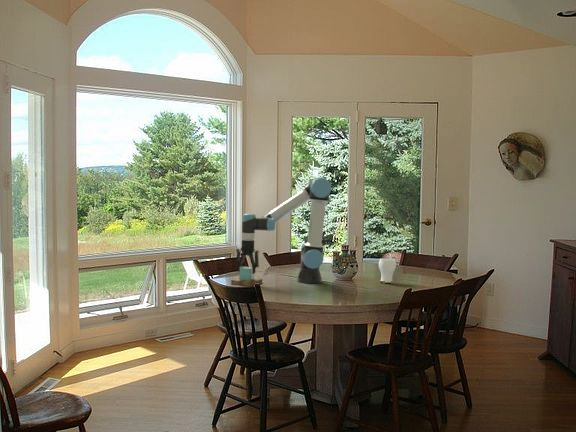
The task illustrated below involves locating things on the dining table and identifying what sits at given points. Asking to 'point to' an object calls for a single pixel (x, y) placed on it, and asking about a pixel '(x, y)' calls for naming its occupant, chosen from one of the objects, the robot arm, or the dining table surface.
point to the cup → (387, 269)
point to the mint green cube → (245, 273)
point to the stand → (246, 282)
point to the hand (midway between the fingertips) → (246, 278)
